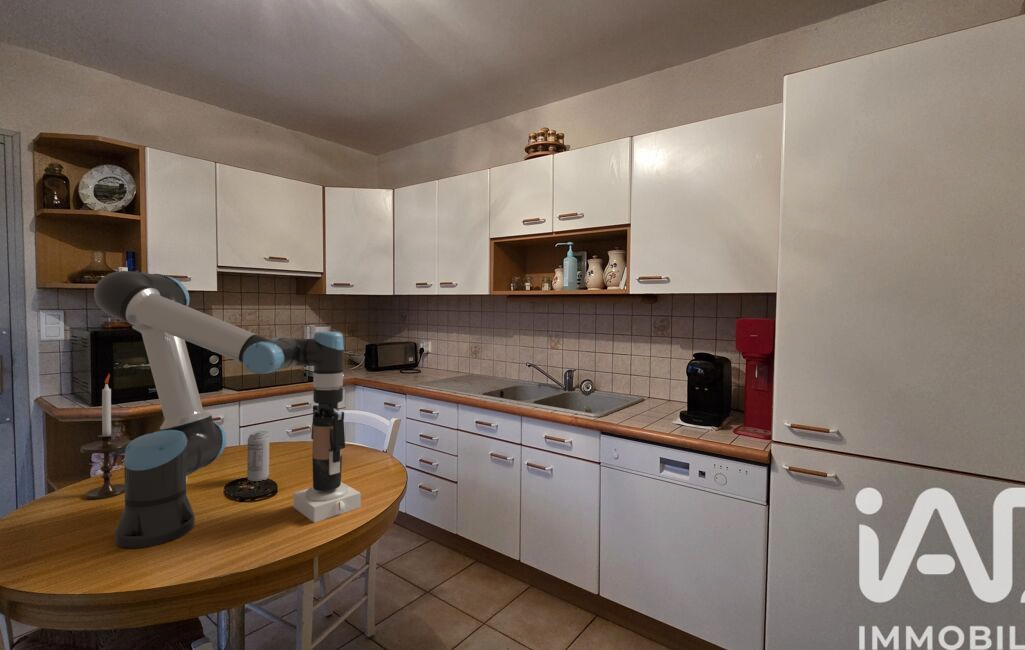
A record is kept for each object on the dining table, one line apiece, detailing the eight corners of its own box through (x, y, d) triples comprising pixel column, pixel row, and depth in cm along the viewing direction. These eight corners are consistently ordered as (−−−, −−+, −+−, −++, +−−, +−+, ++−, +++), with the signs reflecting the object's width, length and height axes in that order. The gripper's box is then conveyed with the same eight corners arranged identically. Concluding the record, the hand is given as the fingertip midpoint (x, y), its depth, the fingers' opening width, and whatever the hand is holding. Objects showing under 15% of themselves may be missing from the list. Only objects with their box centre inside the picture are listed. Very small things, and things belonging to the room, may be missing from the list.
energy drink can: (273, 477, 145) (273, 431, 144) (258, 484, 139) (258, 436, 138) (257, 475, 146) (258, 429, 146) (242, 481, 140) (242, 434, 140)
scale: (315, 523, 114) (315, 505, 114) (293, 507, 124) (293, 490, 123) (361, 507, 124) (362, 490, 124) (338, 493, 133) (338, 477, 133)
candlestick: (141, 486, 135) (140, 371, 134) (108, 501, 124) (107, 376, 123) (105, 485, 135) (105, 370, 134) (69, 500, 124) (69, 375, 123)
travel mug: (347, 484, 125) (348, 413, 125) (323, 493, 119) (324, 419, 118) (329, 478, 129) (330, 410, 129) (305, 487, 123) (306, 415, 122)
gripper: (360, 391, 119) (358, 475, 120) (324, 381, 133) (323, 457, 133) (332, 394, 113) (331, 483, 114) (298, 384, 127) (297, 463, 128)
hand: (327, 469), depth 124 cm, fingers closed on travel mug, 8 cm apart
